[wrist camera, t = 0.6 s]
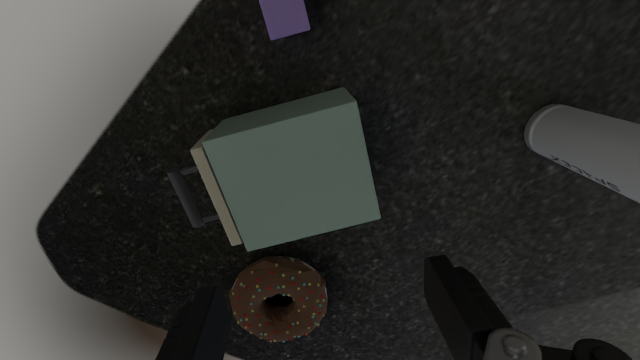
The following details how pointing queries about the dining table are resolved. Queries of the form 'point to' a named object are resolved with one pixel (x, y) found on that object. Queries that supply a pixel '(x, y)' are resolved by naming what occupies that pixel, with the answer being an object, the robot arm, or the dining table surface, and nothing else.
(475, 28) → the dining table surface
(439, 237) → the dining table surface
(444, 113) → the dining table surface
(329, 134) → the cabinet
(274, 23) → the cube
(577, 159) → the travel mug
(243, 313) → the donut
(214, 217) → the drawer
